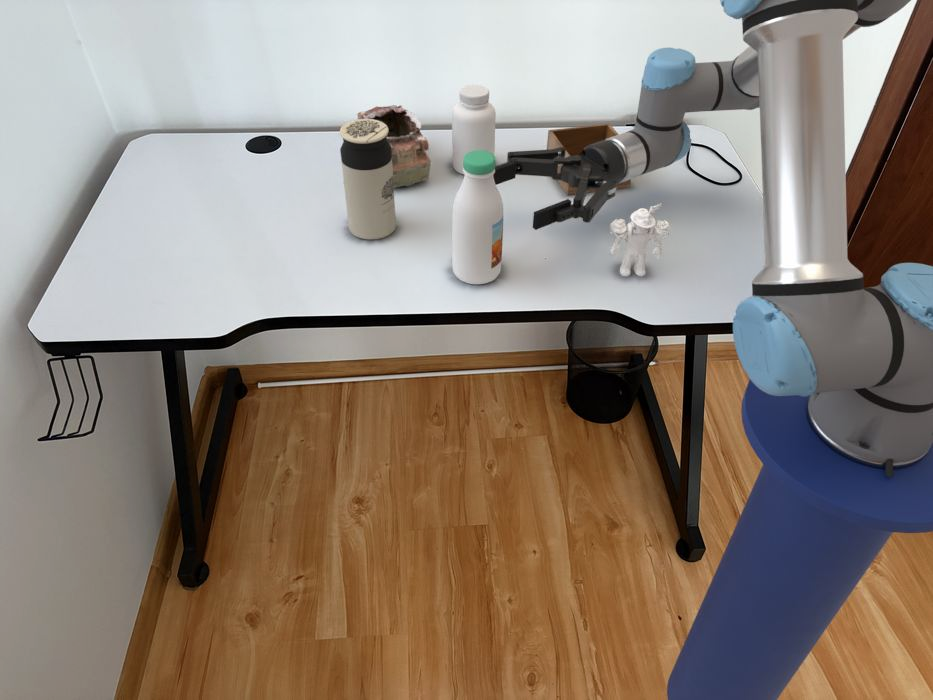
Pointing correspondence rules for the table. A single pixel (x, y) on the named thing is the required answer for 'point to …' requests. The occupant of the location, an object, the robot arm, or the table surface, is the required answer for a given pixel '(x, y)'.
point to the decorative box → (403, 144)
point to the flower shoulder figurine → (638, 238)
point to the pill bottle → (472, 124)
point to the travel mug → (368, 178)
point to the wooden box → (580, 145)
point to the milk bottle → (477, 221)
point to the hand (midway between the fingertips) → (506, 200)
